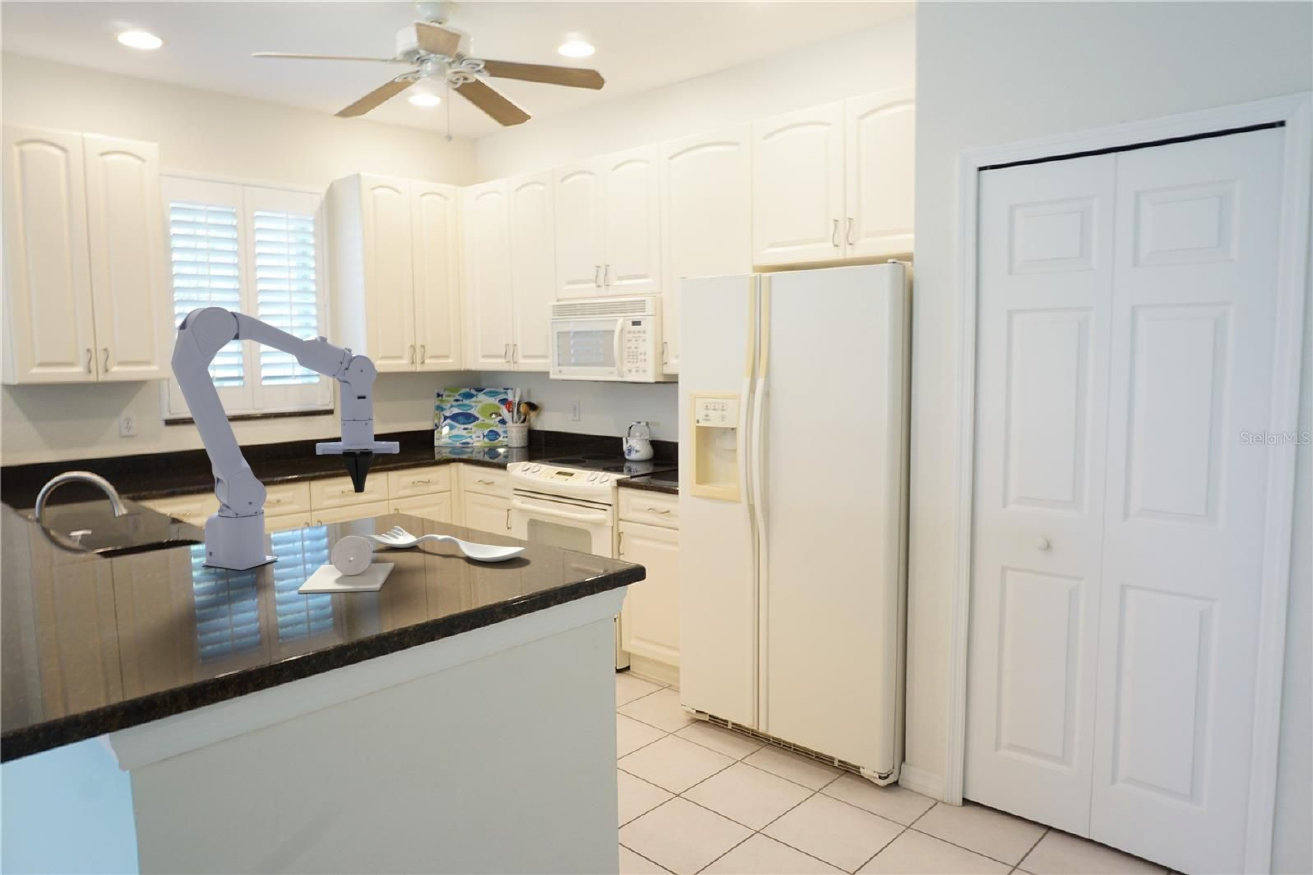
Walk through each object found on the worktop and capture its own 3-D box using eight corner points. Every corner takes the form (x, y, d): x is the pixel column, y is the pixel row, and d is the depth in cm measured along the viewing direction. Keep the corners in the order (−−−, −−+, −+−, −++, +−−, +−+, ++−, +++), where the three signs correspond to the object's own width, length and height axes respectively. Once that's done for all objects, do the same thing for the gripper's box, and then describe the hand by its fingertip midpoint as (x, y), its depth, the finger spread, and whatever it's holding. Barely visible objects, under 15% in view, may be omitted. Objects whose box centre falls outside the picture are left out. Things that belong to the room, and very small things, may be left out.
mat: (321, 567, 146) (321, 565, 146) (394, 565, 148) (394, 562, 148) (297, 593, 132) (297, 590, 132) (378, 590, 133) (378, 587, 133)
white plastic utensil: (395, 541, 168) (395, 523, 167) (535, 558, 154) (534, 539, 154) (362, 551, 160) (361, 532, 159) (506, 570, 146) (505, 550, 146)
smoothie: (375, 568, 149) (362, 584, 135) (337, 561, 148) (320, 576, 134) (383, 532, 149) (372, 544, 135) (346, 525, 148) (330, 536, 134)
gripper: (310, 421, 154) (313, 496, 156) (394, 421, 156) (396, 494, 158) (319, 418, 161) (322, 489, 163) (399, 417, 163) (401, 488, 165)
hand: (359, 491), depth 161 cm, fingers closed
